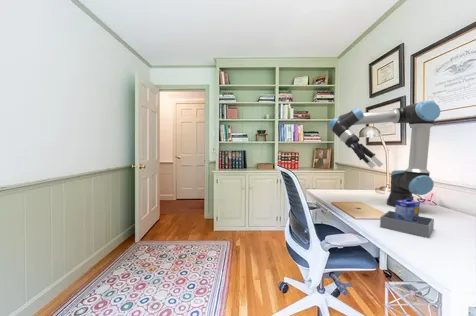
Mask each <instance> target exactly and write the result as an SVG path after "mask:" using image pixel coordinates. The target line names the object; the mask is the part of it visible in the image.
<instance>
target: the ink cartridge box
mask: <svg viewBox="0 0 476 316" xmlns="http://www.w3.org/2000/svg"><path fill="white" fill-rule="evenodd" d="M410 198H411V199H410ZM414 198H415V197H414V196H413V197H409V198H408V199H407V200H398V201H396V207H395V208H394V209H395V210H394V212H395V219H396V220H402V221H407V222H412V223H417V224H418V218H419V216H420V207H421V206H420V204H421V203H420V201H417V200H415V199H414ZM412 199H414V200H412Z"/></svg>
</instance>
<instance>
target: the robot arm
mask: <svg viewBox="0 0 476 316" xmlns="http://www.w3.org/2000/svg"><path fill="white" fill-rule="evenodd" d="M440 115H441V108H440V106H439V105H438V103H436V102H435V101H432V100H424V101H419V102H416V103H412V104H409V105H406V106H402V107H395V108H393V109H391V110H382V111H381V110H380V111H369V112H367V111H366V112H363V111H362V109H361V108H358V107H355V108H354V109H352V110H350V111H349V112H347V113H343V114H341V115H339V116H338V117H334V118H332V119H331V120H330V121H329V122H328V124H327V126H328V128H329V130H331V132H333V134H335V135H336V137H337V138H339V139H340V142H343V143H344V144H345V145H346V147H347V148H349V149H351V150H352V151H353V152H354V154H355V155H356V156H357V157H358V159H359V161H363V162H364V164H366V165H367V166H368V167H369V168H370V169H371V170H372V169H374V168H375V166H377V167H378V168H380V167H382V166H383V165H384V163H383V162H382V161H381V160H380V159H379V158H378V157H377V156H376V153H374V152H372V151H371V150H370V149H369V148H368V147H366V146H365V145H364V144H363V143H359V142H360V137H358V136H357V135H356V134H355V133H354V132H353V131H352V130H351V129H350V128H351V127H352V126H359V125H372V124H373V125H374V124H384V123H385V124H386V123H392V124H408V126H409V127H410V128H411V132H410V133H411V135H410V145H409V154H408V155H409V157H408V166H407V167H408V168H406V169H405V170H391V174H390V192H389V195H388V197H387V200H386V204H387V205H388V206H391V207H395V208H396V201H398V200H407V199H408V198H409V197H414V196H413V195H418V196H419V195H420V196H425V195H426V194H429V193H430V192H431V191H432V190H433V189H434V180H433V179H432V177H430V174H431V173H430V171H429V170H428V169H427V168H428V158H429V146H430V136H431V135H430V133H431V128H432V127H433V126H434V125H435V120H436V119H438V118H439V116H440ZM410 199H411V198H410ZM412 200H414V201H415V199H414V198H413V199H412Z"/></svg>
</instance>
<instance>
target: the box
mask: <svg viewBox="0 0 476 316" xmlns="http://www.w3.org/2000/svg"><path fill="white" fill-rule="evenodd" d="M379 223H380V224H379V225H380V226H379V227H380V228H383V229H388V230H391V231H395V232H396V231H397V232H401V233H405V234H409V235H414V236H418V237H423V238H426V237H427V239H429V238H430V236H431V235H432V233H433V231H434V224H435V219H434V218H431V217H426V216H421V215H419V218H418V224H417V223H412V222H407V221H402V220H396V219H395V211H392V210H388V211H386V212H385V213H384V214H382V215H381V216H380V222H379Z"/></svg>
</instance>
